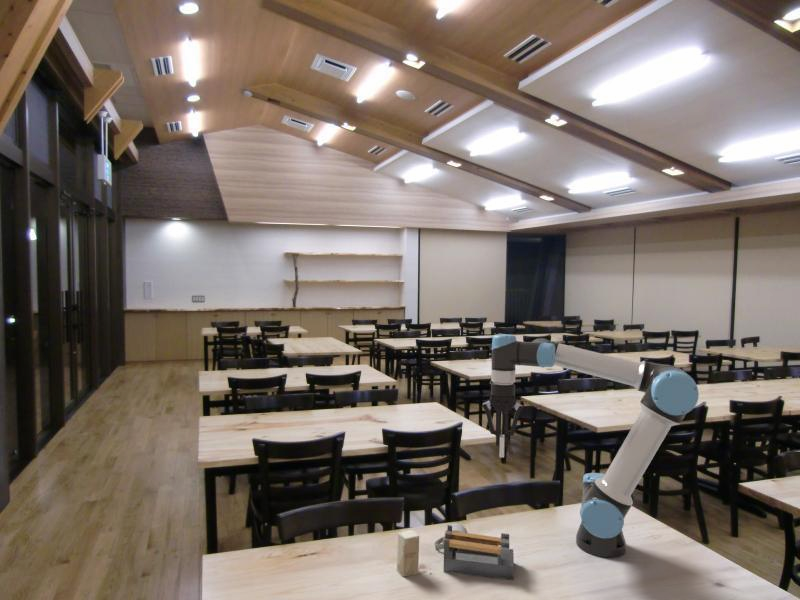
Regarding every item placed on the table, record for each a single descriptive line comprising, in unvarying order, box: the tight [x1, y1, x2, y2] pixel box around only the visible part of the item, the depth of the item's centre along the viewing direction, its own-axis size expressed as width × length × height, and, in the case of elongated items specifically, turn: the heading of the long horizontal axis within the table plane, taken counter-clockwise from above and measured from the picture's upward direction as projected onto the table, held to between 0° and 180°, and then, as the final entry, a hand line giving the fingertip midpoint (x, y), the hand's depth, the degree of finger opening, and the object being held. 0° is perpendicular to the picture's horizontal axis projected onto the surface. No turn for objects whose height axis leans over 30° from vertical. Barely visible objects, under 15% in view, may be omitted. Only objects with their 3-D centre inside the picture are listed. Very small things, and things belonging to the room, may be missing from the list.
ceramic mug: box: [433, 522, 468, 550], centre depth 167 cm, size 11×8×8 cm
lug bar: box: [443, 524, 455, 559], centre depth 158 cm, size 2×10×5 cm, turn 169°
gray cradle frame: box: [443, 532, 515, 581], centre depth 156 cm, size 20×10×9 cm, turn 79°
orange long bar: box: [444, 529, 508, 546], centre depth 159 cm, size 19×2×2 cm, turn 79°
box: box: [396, 529, 420, 577], centre depth 153 cm, size 5×4×11 cm
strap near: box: [442, 538, 508, 554], centre depth 154 cm, size 19×2×2 cm, turn 78°
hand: (501, 456), depth 168 cm, fingers closed
